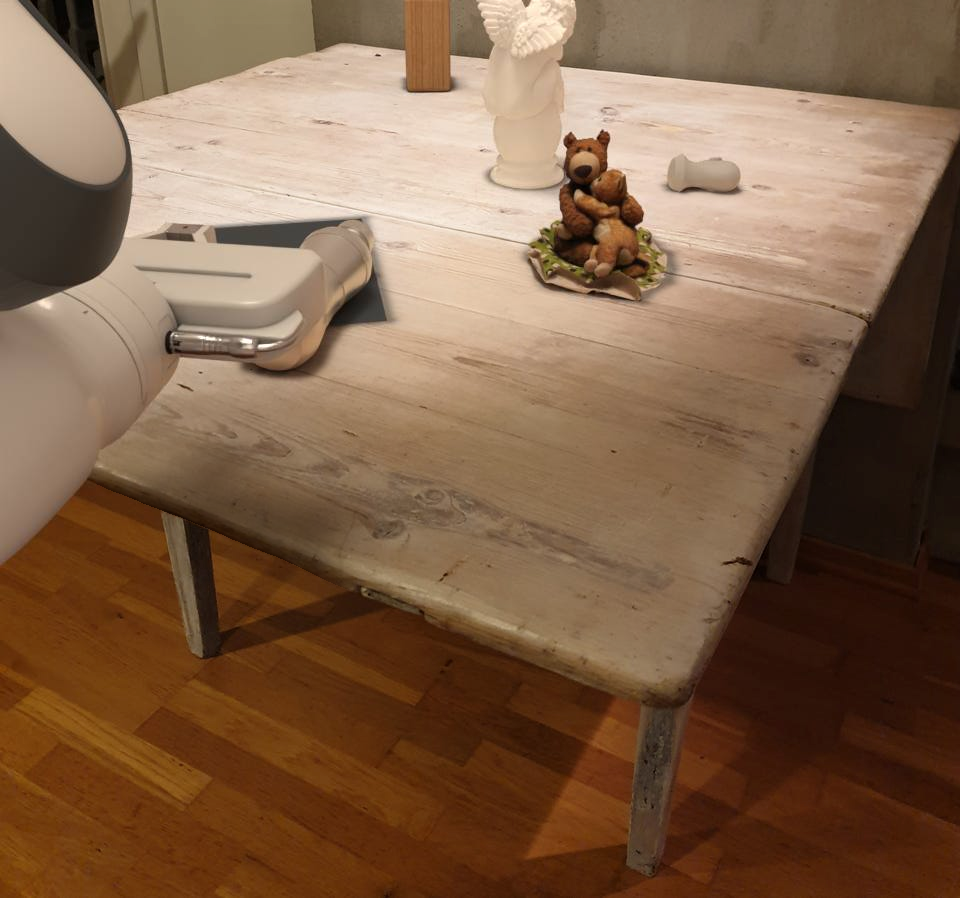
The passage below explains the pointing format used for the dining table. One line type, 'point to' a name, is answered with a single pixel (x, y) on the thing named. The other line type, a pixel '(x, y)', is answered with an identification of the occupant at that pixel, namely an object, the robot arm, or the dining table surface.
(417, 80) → the decorative item
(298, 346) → the plastic bottle
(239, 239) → the mat
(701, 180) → the pale two-lobed sculpture
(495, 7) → the cherub figurine
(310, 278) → the robot arm
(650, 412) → the dining table surface
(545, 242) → the bear figurine
